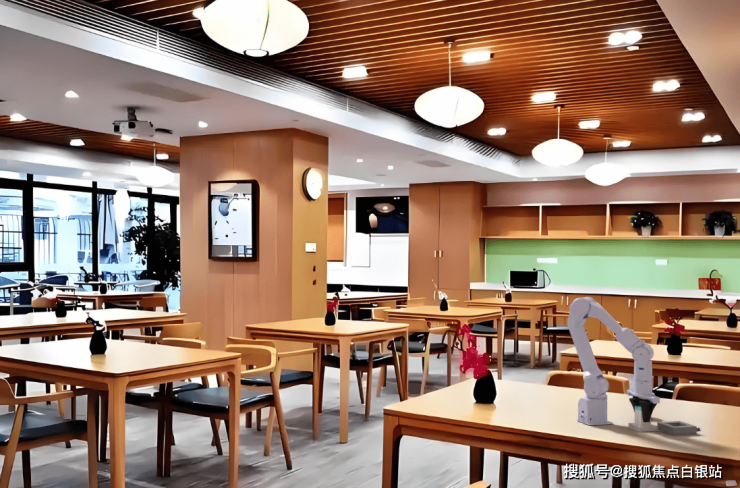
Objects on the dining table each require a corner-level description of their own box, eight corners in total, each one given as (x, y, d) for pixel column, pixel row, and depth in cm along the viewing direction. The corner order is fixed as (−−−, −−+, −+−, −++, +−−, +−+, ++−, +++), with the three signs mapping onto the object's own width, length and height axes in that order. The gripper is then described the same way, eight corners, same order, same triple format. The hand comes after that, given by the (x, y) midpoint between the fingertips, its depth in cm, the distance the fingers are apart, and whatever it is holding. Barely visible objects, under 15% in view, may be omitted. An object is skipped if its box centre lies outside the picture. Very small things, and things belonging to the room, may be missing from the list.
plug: (640, 428, 230) (640, 407, 230) (634, 426, 233) (634, 405, 233) (650, 428, 231) (651, 407, 231) (644, 426, 234) (644, 405, 234)
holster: (640, 431, 228) (640, 427, 228) (628, 427, 234) (628, 422, 234) (658, 430, 230) (658, 426, 230) (645, 426, 236) (645, 421, 236)
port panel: (673, 435, 224) (673, 427, 224) (657, 429, 231) (657, 422, 231) (708, 433, 227) (708, 425, 227) (691, 427, 235) (691, 420, 235)
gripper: (667, 383, 227) (667, 425, 226) (639, 376, 241) (639, 415, 240) (649, 384, 225) (649, 426, 224) (621, 377, 239) (621, 416, 238)
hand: (642, 420), depth 232 cm, fingers closed on plug, 3 cm apart
